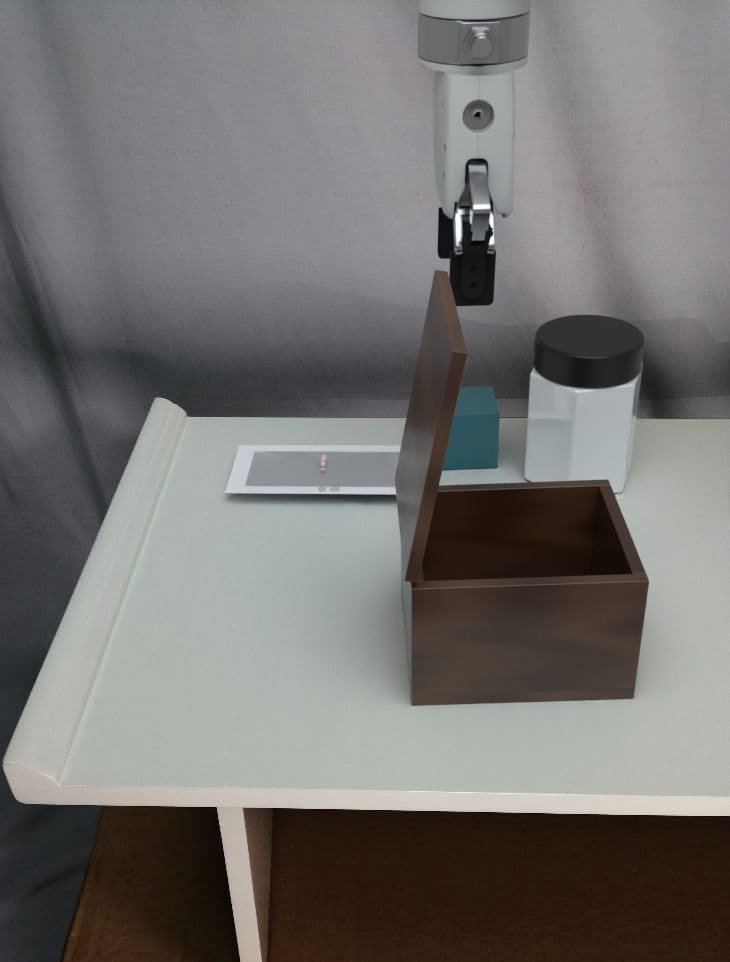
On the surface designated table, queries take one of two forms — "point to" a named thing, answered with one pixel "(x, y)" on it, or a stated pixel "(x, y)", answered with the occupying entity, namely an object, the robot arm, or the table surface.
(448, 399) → the lid
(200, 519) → the table surface
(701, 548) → the table surface
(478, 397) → the block
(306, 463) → the touchpad
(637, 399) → the jar
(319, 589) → the table surface
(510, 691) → the chest
